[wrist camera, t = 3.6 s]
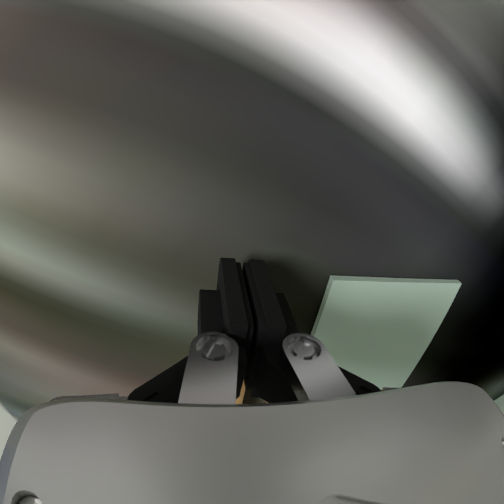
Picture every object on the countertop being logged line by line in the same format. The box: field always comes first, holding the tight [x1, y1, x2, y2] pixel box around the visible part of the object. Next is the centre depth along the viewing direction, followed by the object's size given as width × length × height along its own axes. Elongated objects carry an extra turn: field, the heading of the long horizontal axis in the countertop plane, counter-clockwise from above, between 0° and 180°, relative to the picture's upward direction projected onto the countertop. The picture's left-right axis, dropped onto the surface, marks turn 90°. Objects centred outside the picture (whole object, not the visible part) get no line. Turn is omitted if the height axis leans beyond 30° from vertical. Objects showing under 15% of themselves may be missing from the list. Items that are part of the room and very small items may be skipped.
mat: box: [311, 275, 462, 390], centre depth 19 cm, size 18×9×1 cm, turn 171°
